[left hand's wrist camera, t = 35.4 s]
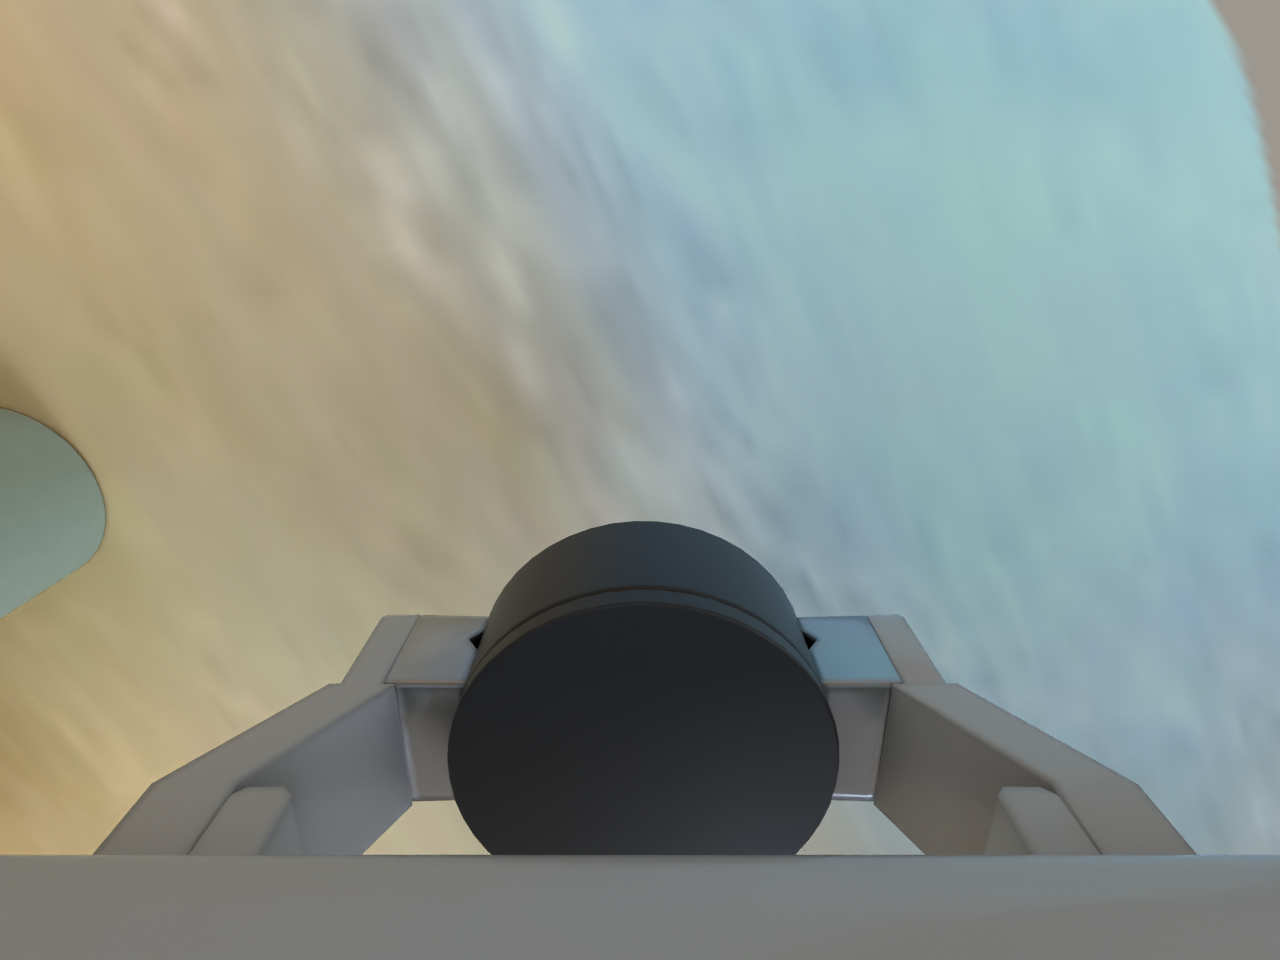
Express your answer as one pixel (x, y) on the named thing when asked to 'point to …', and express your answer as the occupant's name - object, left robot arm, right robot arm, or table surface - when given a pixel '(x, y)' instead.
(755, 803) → the cap
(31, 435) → the bottle
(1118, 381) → the table surface
